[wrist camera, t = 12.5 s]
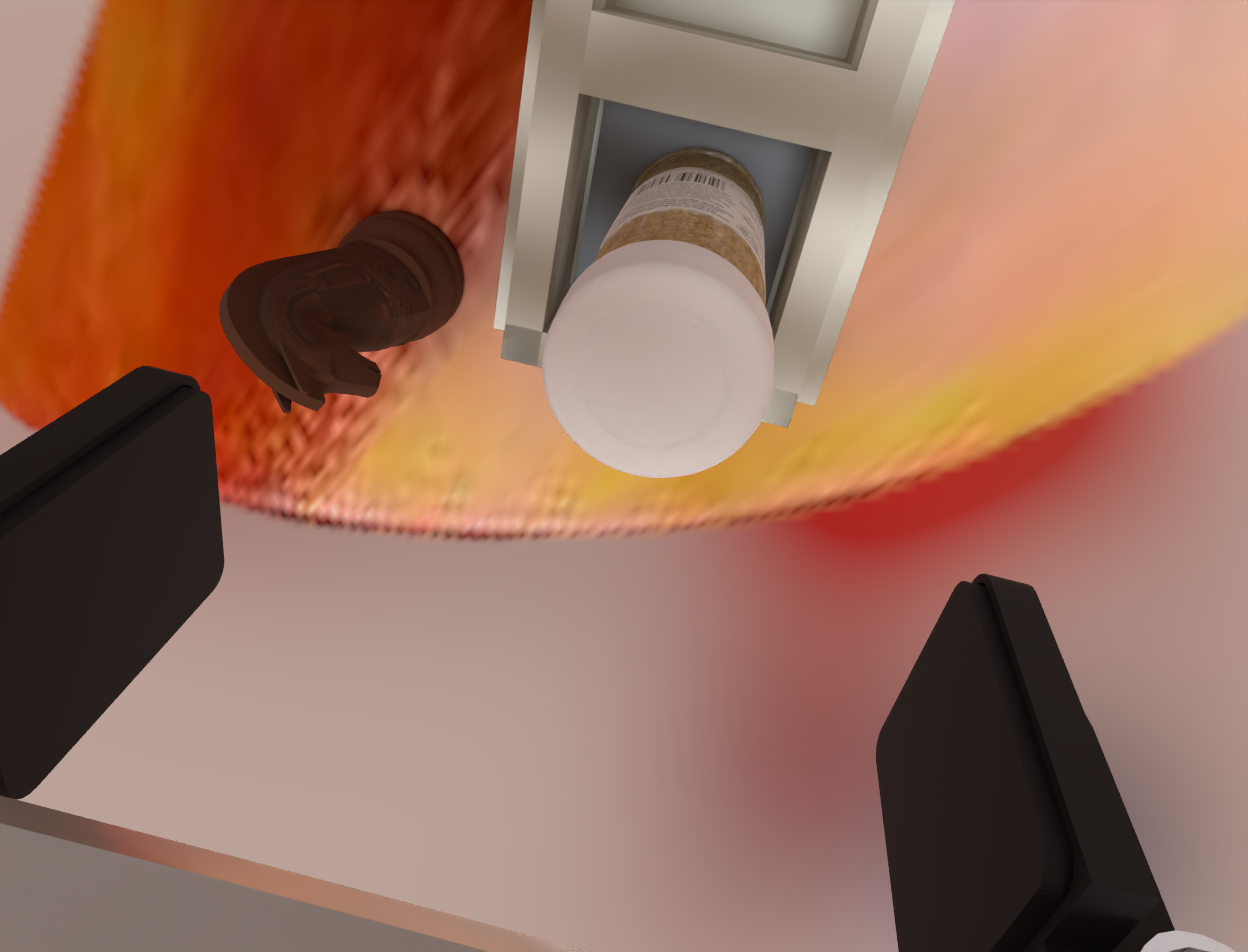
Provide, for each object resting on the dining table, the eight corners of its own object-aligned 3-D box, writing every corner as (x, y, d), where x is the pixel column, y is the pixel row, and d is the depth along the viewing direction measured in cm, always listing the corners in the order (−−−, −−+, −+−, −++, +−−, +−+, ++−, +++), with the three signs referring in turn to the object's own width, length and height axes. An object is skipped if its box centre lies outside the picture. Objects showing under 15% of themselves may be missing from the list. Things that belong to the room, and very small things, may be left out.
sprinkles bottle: (616, 268, 29) (522, 457, 18) (642, 128, 27) (554, 239, 15) (747, 298, 29) (740, 508, 17) (786, 160, 27) (806, 297, 15)
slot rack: (591, -412, 22) (547, -508, 18) (1056, -312, 21) (1127, -385, 17) (500, 318, 32) (459, 370, 28) (813, 394, 32) (819, 458, 27)
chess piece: (413, 354, 33) (290, 483, 25) (311, 257, 32) (144, 358, 24) (489, 279, 31) (384, 391, 23) (384, 171, 30) (230, 248, 21)
